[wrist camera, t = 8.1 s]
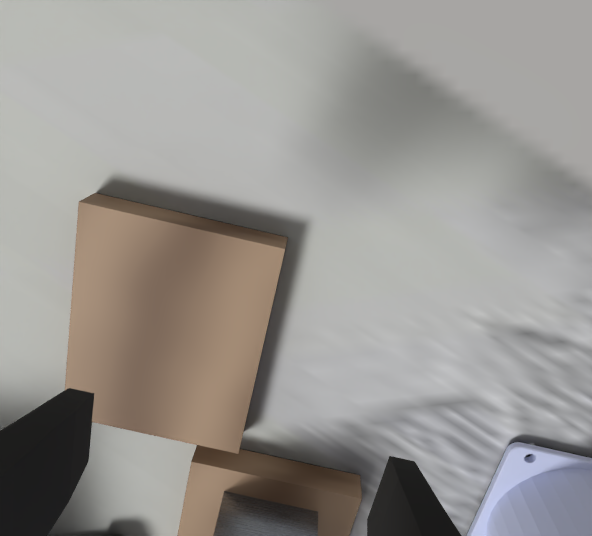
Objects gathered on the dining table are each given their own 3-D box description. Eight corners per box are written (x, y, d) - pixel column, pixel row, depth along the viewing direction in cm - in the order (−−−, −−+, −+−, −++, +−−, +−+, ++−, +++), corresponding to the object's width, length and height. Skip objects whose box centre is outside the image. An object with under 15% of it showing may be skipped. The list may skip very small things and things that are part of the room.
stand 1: (287, 237, 22) (285, 249, 20) (243, 432, 25) (238, 453, 24) (95, 192, 21) (78, 201, 20) (77, 396, 25) (62, 415, 23)
